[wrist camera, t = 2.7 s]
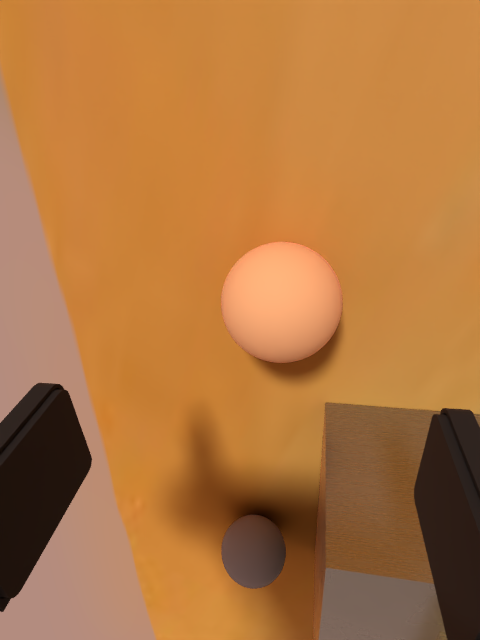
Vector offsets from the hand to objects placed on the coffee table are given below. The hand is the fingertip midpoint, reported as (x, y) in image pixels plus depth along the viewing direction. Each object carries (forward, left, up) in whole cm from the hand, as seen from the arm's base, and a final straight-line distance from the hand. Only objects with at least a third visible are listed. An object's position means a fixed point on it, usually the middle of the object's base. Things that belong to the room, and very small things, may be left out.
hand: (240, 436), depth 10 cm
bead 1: (-1, -1, -8) cm, 8 cm away
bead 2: (0, +17, -8) cm, 19 cm away
